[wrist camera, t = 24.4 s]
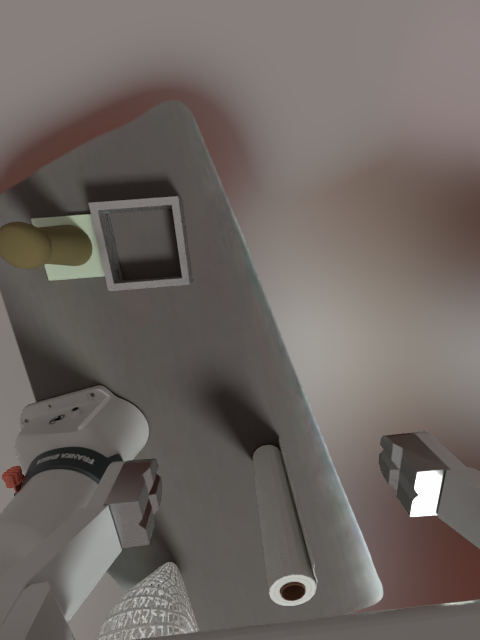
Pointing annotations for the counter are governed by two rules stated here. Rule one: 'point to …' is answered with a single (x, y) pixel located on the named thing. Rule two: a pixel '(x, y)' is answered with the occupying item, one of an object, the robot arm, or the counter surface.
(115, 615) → the heart
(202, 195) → the counter surface
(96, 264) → the green pad
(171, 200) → the frame
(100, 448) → the robot arm
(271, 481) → the paper towel roll
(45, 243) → the olive green rounded piece
